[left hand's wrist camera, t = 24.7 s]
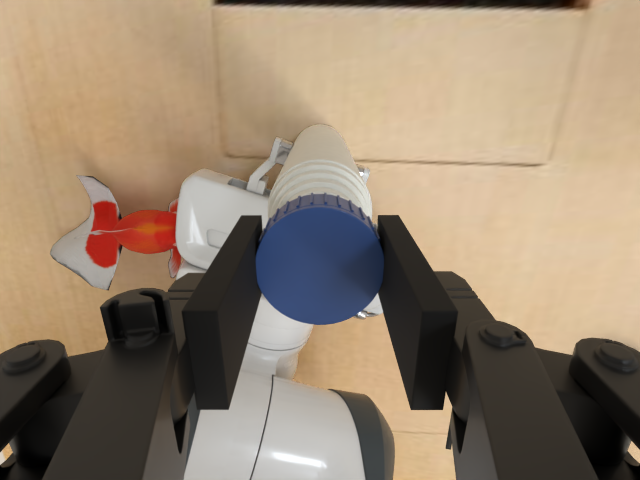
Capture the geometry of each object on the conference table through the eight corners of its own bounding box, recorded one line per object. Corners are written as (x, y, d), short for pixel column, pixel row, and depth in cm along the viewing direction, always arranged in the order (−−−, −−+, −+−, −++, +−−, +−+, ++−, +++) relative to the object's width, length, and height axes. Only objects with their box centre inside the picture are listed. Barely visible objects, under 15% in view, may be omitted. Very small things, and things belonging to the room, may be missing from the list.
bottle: (318, 112, 36) (315, 155, 12) (357, 150, 37) (424, 257, 13) (282, 153, 37) (216, 264, 13) (321, 188, 38) (323, 346, 15)
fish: (207, 310, 38) (123, 327, 29) (100, 270, 44) (1, 273, 35) (230, 206, 38) (152, 190, 28) (120, 179, 43) (24, 158, 34)
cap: (322, 165, 13) (323, 176, 12) (403, 252, 14) (413, 273, 13) (235, 246, 14) (225, 266, 13) (317, 320, 16) (317, 347, 14)
